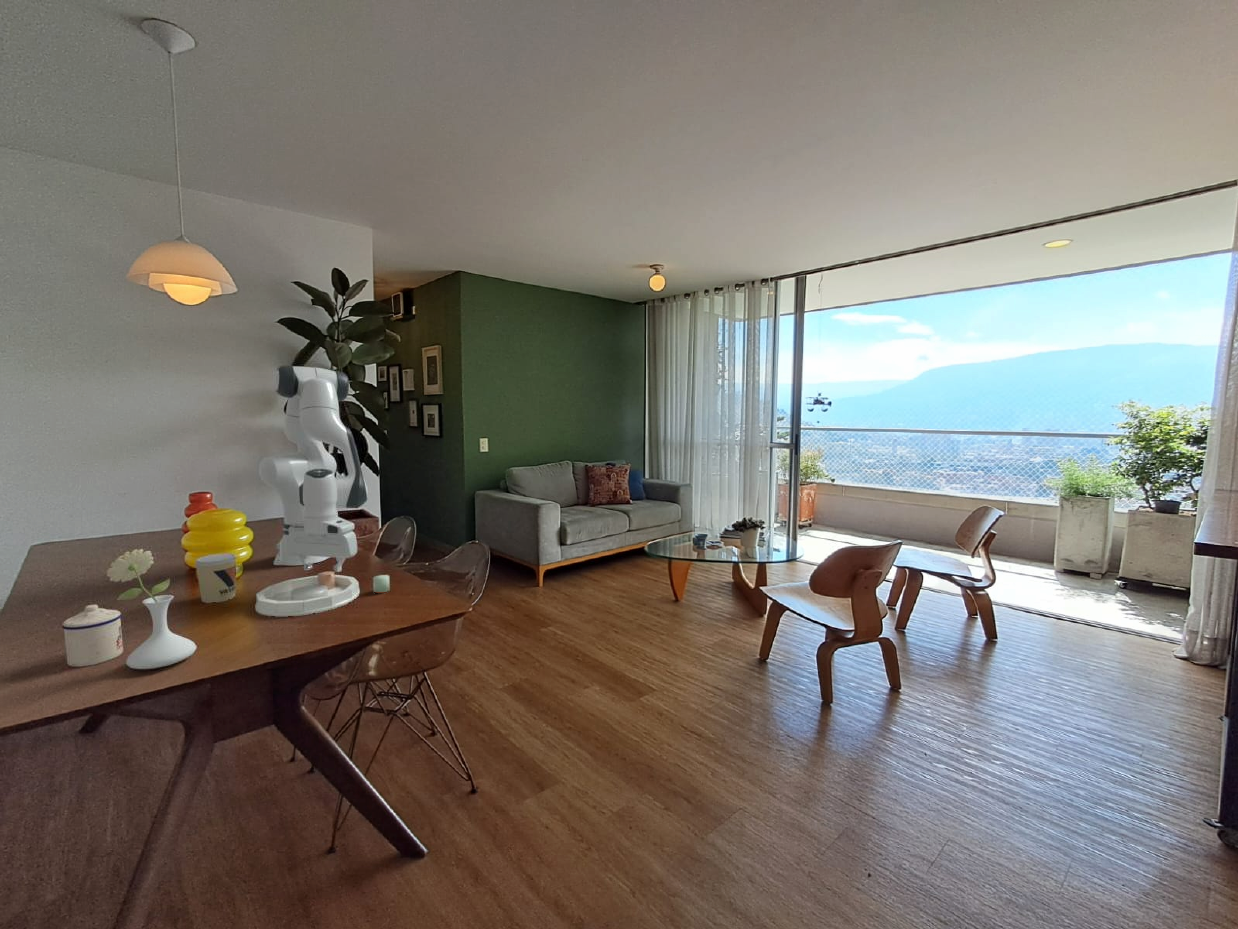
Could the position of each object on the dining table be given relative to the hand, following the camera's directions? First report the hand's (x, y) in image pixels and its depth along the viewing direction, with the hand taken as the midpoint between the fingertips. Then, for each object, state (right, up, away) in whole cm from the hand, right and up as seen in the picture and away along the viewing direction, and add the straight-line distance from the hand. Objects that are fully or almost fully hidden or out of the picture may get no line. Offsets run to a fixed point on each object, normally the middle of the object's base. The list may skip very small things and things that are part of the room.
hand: (322, 570), depth 158 cm
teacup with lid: (-26, -11, -42) cm, 51 cm away
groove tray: (0, -7, -7) cm, 10 cm away
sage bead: (+17, -6, +1) cm, 18 cm away
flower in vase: (-10, -11, -46) cm, 48 cm away
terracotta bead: (+1, -5, 0) cm, 5 cm away
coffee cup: (-27, -7, -6) cm, 28 cm away
